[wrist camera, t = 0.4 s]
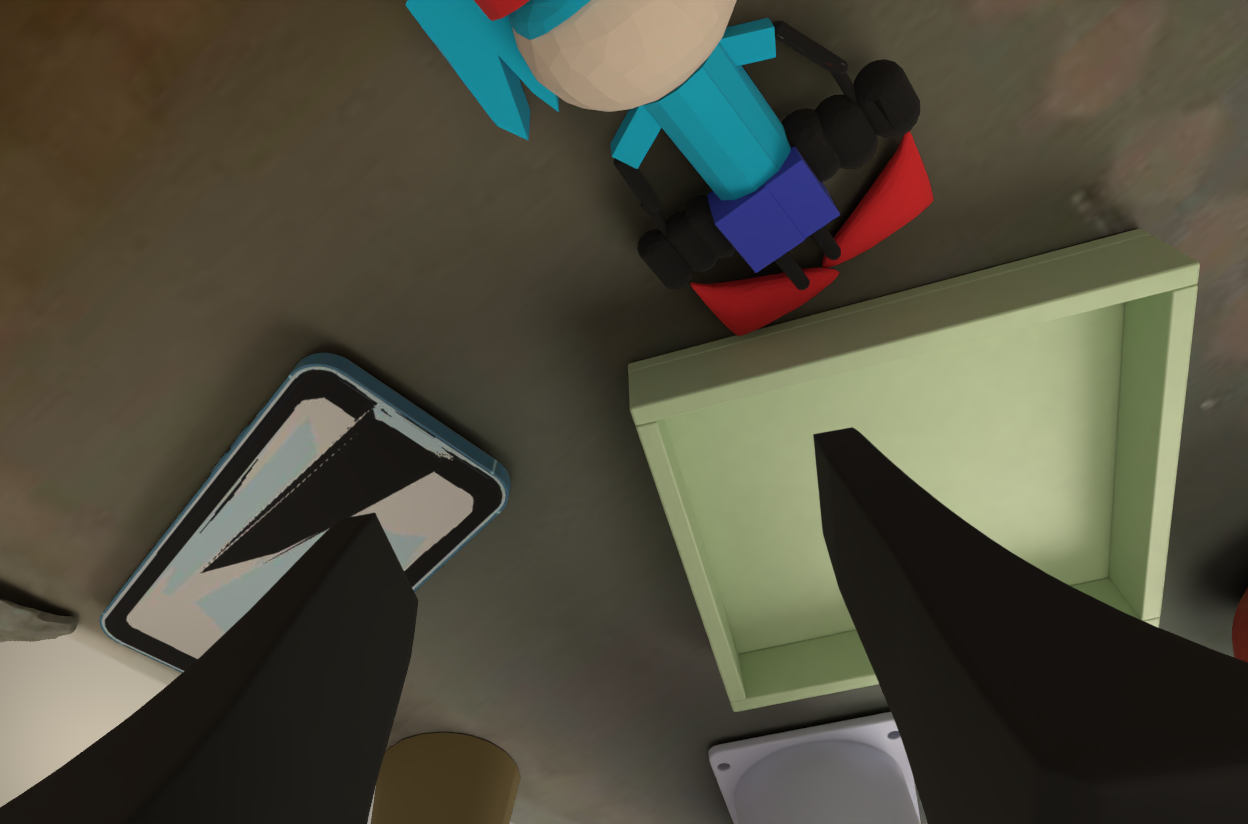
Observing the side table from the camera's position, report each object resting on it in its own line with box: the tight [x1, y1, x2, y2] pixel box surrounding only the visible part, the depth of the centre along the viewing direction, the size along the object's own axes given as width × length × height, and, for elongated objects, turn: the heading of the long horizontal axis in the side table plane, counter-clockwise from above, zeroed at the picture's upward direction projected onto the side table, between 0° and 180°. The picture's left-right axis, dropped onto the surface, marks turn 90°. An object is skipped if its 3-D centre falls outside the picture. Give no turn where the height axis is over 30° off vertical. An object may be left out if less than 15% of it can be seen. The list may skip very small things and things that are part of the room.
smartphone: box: [100, 353, 511, 673], centre depth 26 cm, size 7×1×15 cm
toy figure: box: [406, 0, 934, 336], centre depth 16 cm, size 8×5×15 cm
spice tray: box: [628, 229, 1200, 712], centre depth 24 cm, size 13×14×2 cm
